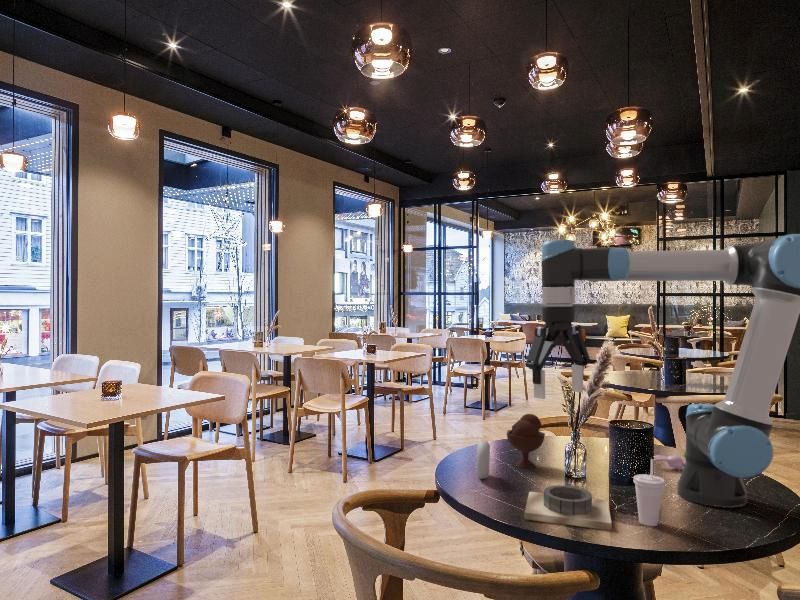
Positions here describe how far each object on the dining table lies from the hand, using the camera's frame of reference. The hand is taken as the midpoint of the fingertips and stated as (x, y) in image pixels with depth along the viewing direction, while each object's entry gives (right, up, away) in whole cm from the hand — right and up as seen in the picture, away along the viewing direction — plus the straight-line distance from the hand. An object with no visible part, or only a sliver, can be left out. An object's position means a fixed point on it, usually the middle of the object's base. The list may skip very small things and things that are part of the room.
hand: (559, 394), depth 134 cm
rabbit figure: (+42, -26, +28) cm, 57 cm away
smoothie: (+17, -26, -11) cm, 33 cm away
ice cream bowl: (-2, -26, +29) cm, 39 cm away
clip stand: (0, -26, -6) cm, 27 cm away
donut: (-15, -26, +18) cm, 35 cm away
